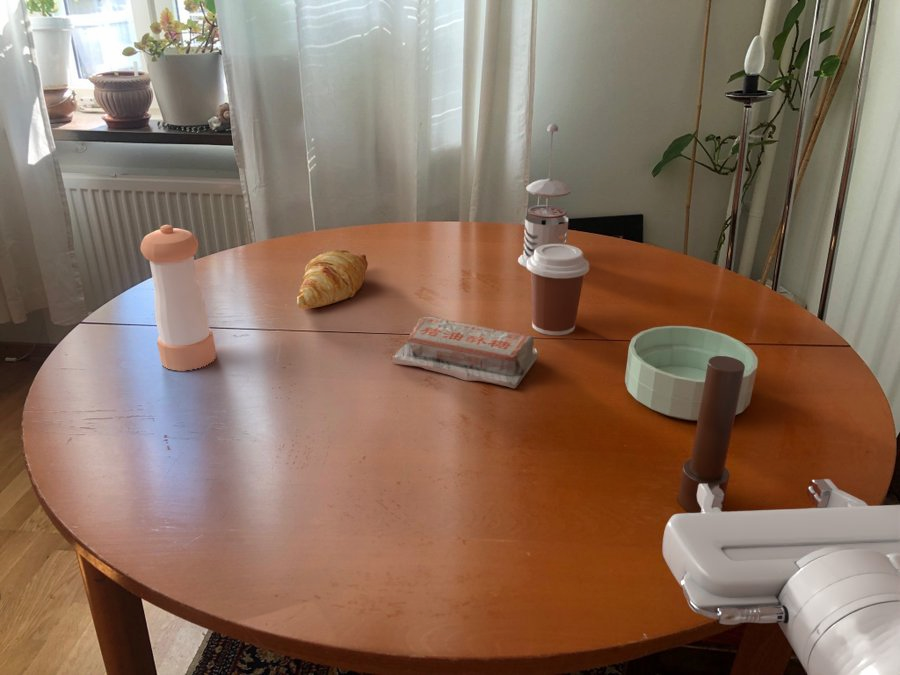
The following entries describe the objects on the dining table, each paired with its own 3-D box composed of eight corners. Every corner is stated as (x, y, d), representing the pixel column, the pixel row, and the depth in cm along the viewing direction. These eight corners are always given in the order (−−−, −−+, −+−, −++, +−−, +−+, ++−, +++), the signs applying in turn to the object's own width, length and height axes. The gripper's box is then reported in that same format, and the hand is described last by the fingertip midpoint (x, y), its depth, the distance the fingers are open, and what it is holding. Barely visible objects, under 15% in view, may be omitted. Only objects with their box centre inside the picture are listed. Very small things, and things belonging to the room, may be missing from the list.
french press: (520, 270, 134) (527, 129, 123) (514, 249, 144) (520, 117, 133) (574, 270, 134) (586, 129, 123) (565, 249, 144) (575, 117, 133)
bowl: (706, 359, 103) (712, 320, 100) (774, 416, 90) (784, 373, 87) (605, 372, 100) (609, 332, 97) (661, 433, 86) (667, 388, 84)
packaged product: (541, 327, 101) (517, 358, 93) (539, 358, 103) (515, 392, 95) (421, 305, 107) (389, 333, 99) (422, 335, 109) (391, 364, 101)
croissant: (319, 336, 117) (337, 299, 112) (266, 301, 117) (282, 263, 113) (376, 286, 134) (393, 252, 130) (330, 256, 135) (346, 221, 130)
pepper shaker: (219, 365, 101) (199, 230, 92) (163, 375, 98) (136, 237, 90) (213, 343, 107) (193, 214, 98) (159, 352, 104) (134, 220, 96)
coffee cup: (549, 344, 107) (554, 266, 102) (511, 322, 114) (514, 247, 109) (596, 330, 111) (604, 254, 106) (557, 309, 118) (562, 237, 113)
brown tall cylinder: (707, 486, 77) (733, 350, 70) (731, 513, 74) (762, 371, 67) (669, 492, 76) (692, 355, 69) (692, 520, 73) (718, 377, 66)
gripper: (691, 657, 50) (634, 522, 62) (982, 643, 51) (869, 513, 63) (705, 587, 47) (642, 460, 60) (1013, 574, 48) (888, 451, 61)
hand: (761, 487), depth 62 cm, fingers open, 8 cm apart
